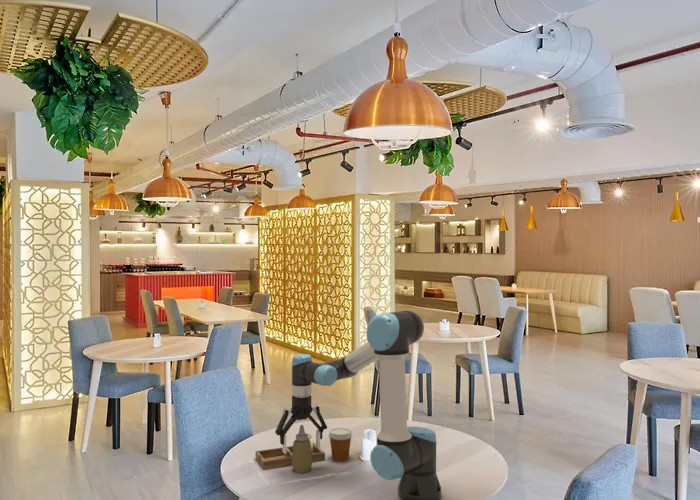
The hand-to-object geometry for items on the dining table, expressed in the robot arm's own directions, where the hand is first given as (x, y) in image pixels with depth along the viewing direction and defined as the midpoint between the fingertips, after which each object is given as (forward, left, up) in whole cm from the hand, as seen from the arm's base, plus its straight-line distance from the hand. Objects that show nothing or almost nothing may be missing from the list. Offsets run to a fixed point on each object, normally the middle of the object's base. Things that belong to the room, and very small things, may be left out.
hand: (301, 450), depth 228 cm
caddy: (+12, +1, -8) cm, 14 cm away
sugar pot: (+12, -5, -7) cm, 15 cm away
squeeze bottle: (0, 0, -9) cm, 9 cm away
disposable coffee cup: (+5, -18, -9) cm, 21 cm away
